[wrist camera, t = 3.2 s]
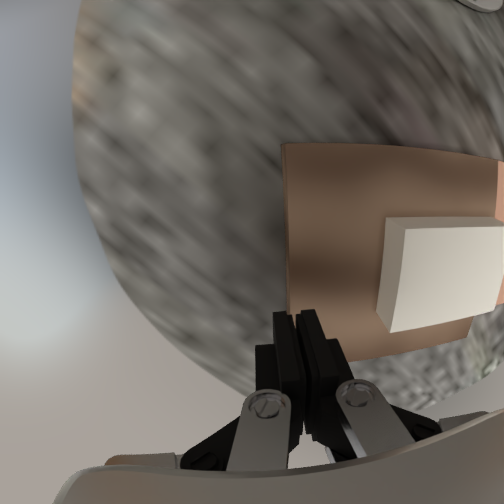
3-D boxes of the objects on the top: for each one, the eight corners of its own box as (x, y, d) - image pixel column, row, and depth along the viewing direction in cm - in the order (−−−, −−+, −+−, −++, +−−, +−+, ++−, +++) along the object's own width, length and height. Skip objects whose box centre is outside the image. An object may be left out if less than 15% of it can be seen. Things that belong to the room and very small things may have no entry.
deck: (280, 144, 16) (285, 143, 13) (476, 156, 15) (498, 160, 13) (286, 346, 20) (289, 368, 18) (452, 321, 20) (466, 337, 18)
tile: (385, 217, 15) (405, 229, 12) (490, 216, 14) (512, 226, 12) (375, 311, 17) (389, 332, 14) (475, 295, 16) (493, 310, 14)
